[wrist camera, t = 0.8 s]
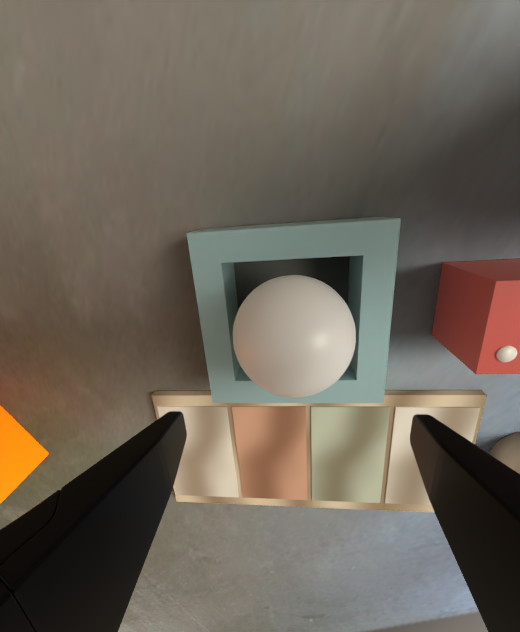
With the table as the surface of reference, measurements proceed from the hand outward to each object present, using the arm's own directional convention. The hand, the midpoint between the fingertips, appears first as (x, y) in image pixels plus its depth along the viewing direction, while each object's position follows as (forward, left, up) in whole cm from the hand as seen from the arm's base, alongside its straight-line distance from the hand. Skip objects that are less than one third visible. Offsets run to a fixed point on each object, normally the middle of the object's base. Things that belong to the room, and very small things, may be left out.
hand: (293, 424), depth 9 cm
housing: (0, 0, -12) cm, 12 cm away
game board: (-1, +13, -12) cm, 18 cm away
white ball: (0, 0, -10) cm, 10 cm away
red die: (-12, 0, -12) cm, 17 cm away
